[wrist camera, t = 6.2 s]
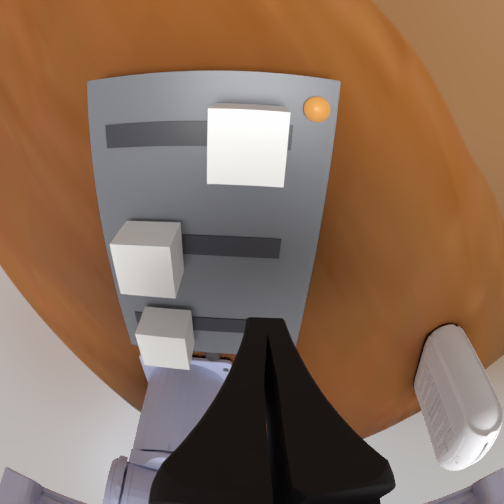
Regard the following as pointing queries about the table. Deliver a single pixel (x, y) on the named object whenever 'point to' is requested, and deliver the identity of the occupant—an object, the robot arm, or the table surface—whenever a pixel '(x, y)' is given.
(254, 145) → the switch
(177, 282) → the switch middle
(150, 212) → the switch panel
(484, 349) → the table surface
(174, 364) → the switch
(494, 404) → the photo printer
